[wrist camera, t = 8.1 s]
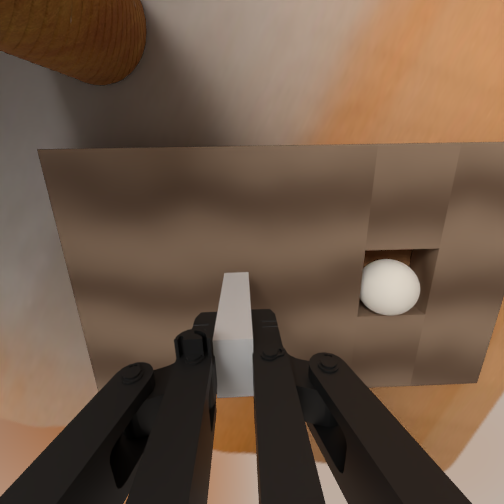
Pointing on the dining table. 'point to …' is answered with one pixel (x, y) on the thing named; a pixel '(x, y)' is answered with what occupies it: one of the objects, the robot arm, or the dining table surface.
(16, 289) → the dining table surface
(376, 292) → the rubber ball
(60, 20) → the disposable coffee cup
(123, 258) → the hole board
